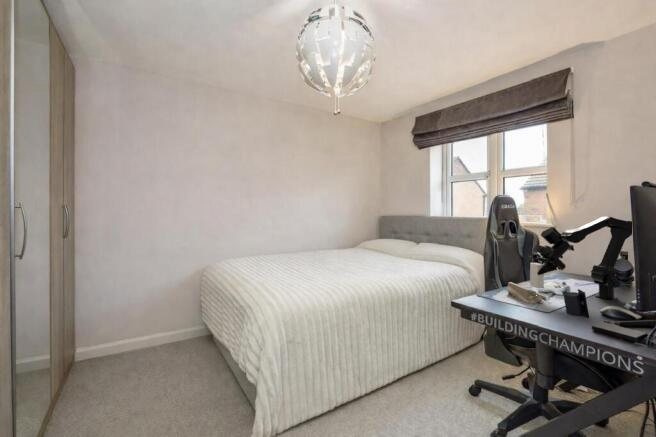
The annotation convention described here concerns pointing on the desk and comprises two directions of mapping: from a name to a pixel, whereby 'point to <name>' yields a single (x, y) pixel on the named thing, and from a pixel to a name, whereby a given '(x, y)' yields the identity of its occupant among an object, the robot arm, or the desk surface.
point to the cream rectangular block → (536, 275)
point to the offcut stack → (532, 292)
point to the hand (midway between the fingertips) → (534, 273)
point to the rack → (523, 293)
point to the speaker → (576, 303)
